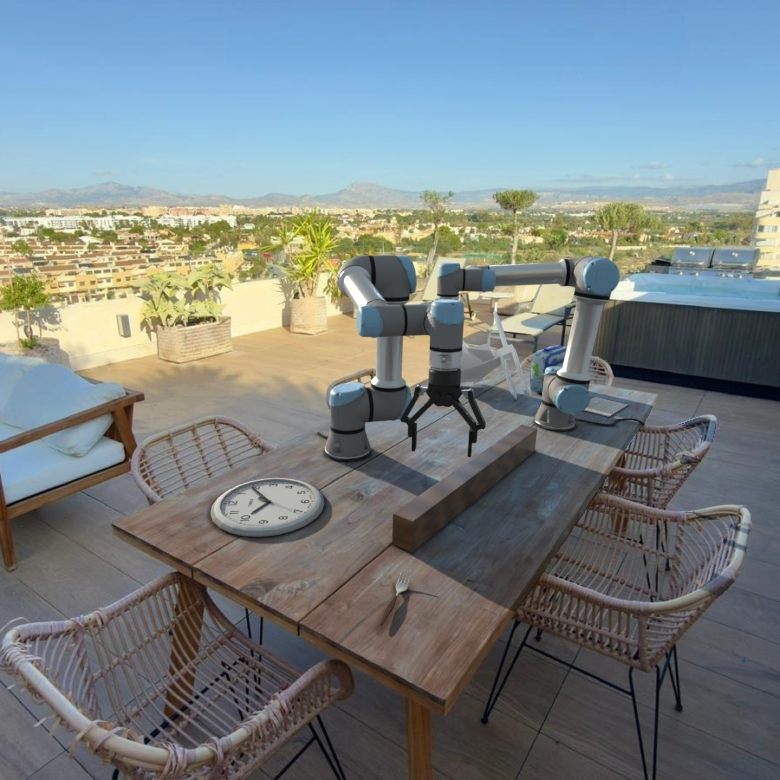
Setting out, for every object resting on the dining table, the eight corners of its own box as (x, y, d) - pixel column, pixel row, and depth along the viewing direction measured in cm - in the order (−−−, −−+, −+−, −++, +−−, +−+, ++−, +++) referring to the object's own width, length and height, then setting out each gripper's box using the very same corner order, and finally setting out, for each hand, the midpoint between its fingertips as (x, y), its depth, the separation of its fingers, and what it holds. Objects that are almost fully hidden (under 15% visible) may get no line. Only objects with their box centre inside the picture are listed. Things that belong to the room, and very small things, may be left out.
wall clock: (322, 529, 128) (196, 532, 126) (322, 534, 129) (197, 538, 126) (326, 473, 157) (223, 476, 154) (326, 478, 157) (224, 481, 155)
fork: (373, 626, 100) (374, 617, 99) (401, 576, 114) (401, 568, 113) (386, 630, 99) (386, 621, 98) (412, 579, 113) (412, 571, 112)
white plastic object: (461, 429, 252) (437, 405, 227) (444, 352, 274) (420, 323, 250) (535, 404, 240) (518, 377, 215) (510, 326, 262) (492, 293, 237)
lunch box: (546, 398, 236) (551, 353, 229) (525, 393, 243) (529, 349, 237) (573, 387, 253) (579, 344, 247) (553, 382, 260) (558, 341, 254)
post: (519, 446, 183) (521, 424, 181) (534, 450, 180) (537, 428, 178) (392, 543, 126) (392, 513, 123) (411, 552, 123) (412, 521, 120)
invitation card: (608, 416, 214) (573, 407, 224) (608, 416, 214) (573, 408, 224) (628, 404, 229) (594, 396, 238) (628, 405, 229) (594, 397, 238)
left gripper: (389, 367, 120) (388, 453, 126) (499, 375, 115) (492, 463, 121) (395, 360, 127) (394, 441, 133) (500, 367, 122) (493, 451, 128)
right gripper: (431, 303, 192) (429, 359, 199) (441, 314, 168) (439, 377, 175) (452, 303, 193) (449, 359, 199) (464, 314, 169) (461, 377, 175)
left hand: (441, 452), depth 127 cm, fingers open, 13 cm apart
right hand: (444, 367), depth 187 cm, fingers open, 13 cm apart
